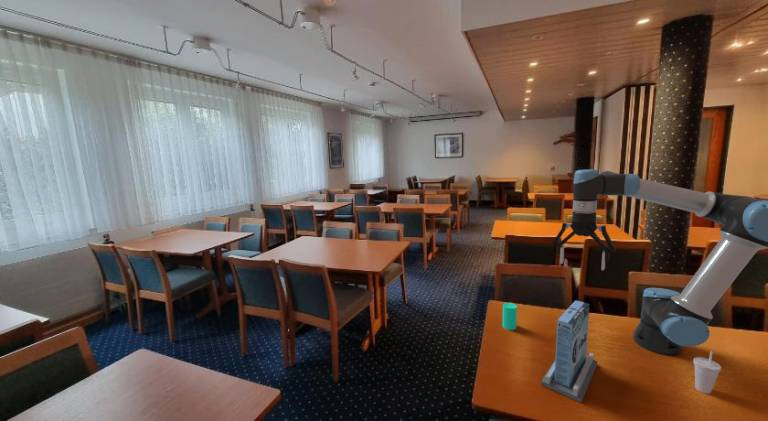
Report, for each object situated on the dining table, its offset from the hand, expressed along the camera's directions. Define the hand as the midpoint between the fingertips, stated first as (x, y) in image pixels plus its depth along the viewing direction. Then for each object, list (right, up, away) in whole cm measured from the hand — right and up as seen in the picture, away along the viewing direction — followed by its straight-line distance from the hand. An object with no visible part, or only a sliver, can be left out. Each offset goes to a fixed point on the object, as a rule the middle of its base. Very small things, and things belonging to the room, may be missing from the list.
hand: (581, 265), depth 121 cm
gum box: (-9, -36, -8) cm, 38 cm away
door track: (-9, -38, -8) cm, 40 cm away
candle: (-18, -32, +24) cm, 44 cm away
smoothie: (+29, -38, -17) cm, 51 cm away
